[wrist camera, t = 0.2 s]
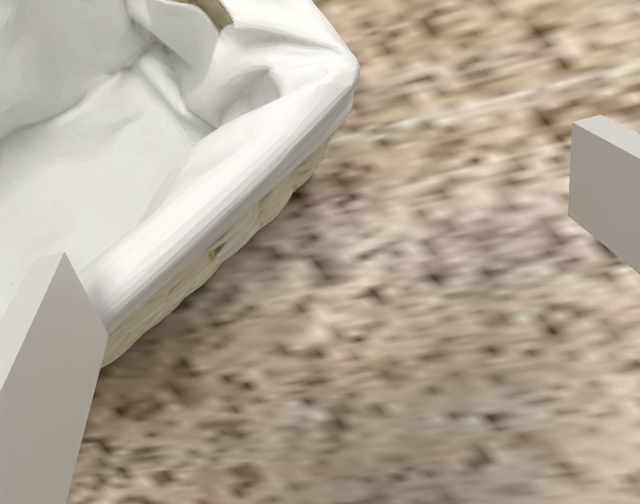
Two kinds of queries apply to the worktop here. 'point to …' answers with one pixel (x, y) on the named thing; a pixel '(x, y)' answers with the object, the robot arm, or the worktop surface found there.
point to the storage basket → (157, 139)
